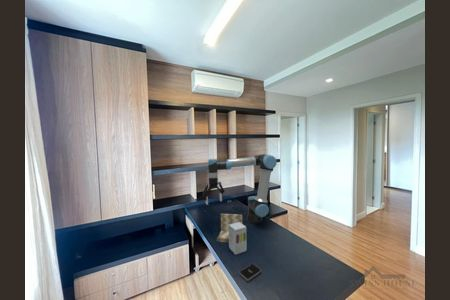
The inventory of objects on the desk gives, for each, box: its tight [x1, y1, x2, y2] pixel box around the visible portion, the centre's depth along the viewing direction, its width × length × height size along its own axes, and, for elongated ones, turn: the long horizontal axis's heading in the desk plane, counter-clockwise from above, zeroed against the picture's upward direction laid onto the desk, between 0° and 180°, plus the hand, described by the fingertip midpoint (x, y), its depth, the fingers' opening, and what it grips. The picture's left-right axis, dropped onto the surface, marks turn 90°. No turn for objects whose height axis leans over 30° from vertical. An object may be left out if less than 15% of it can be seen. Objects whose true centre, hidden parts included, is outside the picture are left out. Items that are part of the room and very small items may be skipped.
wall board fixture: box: [216, 213, 243, 243], centre depth 133 cm, size 18×16×15 cm
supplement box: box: [228, 222, 248, 255], centre depth 117 cm, size 10×9×17 cm
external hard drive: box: [239, 263, 262, 283], centre depth 95 cm, size 7×11×2 cm, turn 127°
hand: (214, 202), depth 140 cm, fingers open, 13 cm apart
